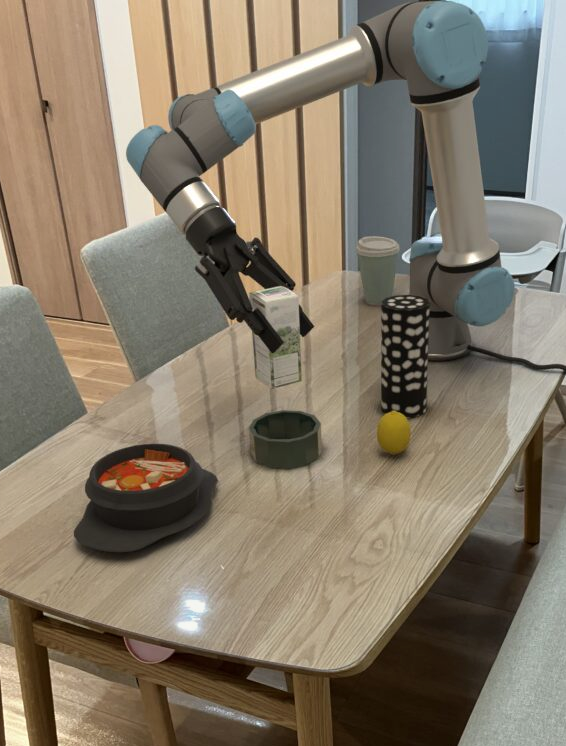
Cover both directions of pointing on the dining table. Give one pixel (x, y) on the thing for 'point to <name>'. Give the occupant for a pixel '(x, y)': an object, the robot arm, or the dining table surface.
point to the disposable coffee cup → (377, 267)
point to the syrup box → (284, 318)
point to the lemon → (393, 432)
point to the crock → (285, 452)
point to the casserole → (143, 497)
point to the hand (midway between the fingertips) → (293, 339)
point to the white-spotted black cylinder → (404, 354)
